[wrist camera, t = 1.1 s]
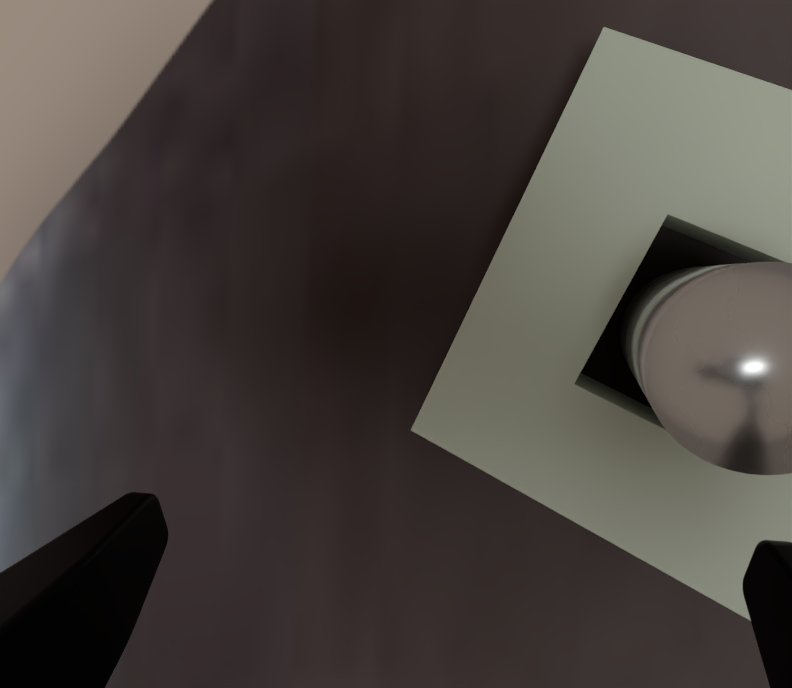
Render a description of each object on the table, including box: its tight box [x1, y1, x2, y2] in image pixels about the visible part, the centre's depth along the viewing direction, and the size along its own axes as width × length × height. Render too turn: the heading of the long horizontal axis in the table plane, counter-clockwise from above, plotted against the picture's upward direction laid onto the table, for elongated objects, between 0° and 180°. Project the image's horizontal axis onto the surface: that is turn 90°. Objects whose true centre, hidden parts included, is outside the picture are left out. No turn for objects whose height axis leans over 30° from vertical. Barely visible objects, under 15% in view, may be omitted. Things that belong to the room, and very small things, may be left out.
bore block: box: [411, 27, 792, 621], centre depth 19 cm, size 15×15×3 cm
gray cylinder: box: [620, 262, 792, 475], centre depth 16 cm, size 5×5×8 cm
